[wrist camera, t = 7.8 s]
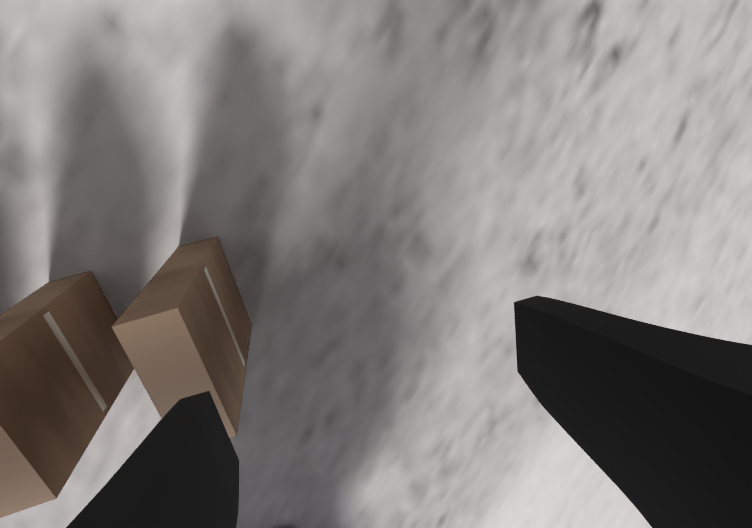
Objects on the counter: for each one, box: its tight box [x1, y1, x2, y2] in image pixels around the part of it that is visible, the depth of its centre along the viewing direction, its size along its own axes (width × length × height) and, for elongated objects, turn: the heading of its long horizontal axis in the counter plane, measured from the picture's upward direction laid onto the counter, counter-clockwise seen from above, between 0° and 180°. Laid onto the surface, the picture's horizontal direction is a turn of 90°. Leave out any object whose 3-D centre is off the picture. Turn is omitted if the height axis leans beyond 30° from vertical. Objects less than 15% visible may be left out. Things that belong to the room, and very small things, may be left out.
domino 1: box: [0, 271, 134, 518], centre depth 13 cm, size 4×2×7 cm, turn 12°
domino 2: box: [112, 236, 252, 438], centre depth 14 cm, size 4×2×7 cm, turn 12°
